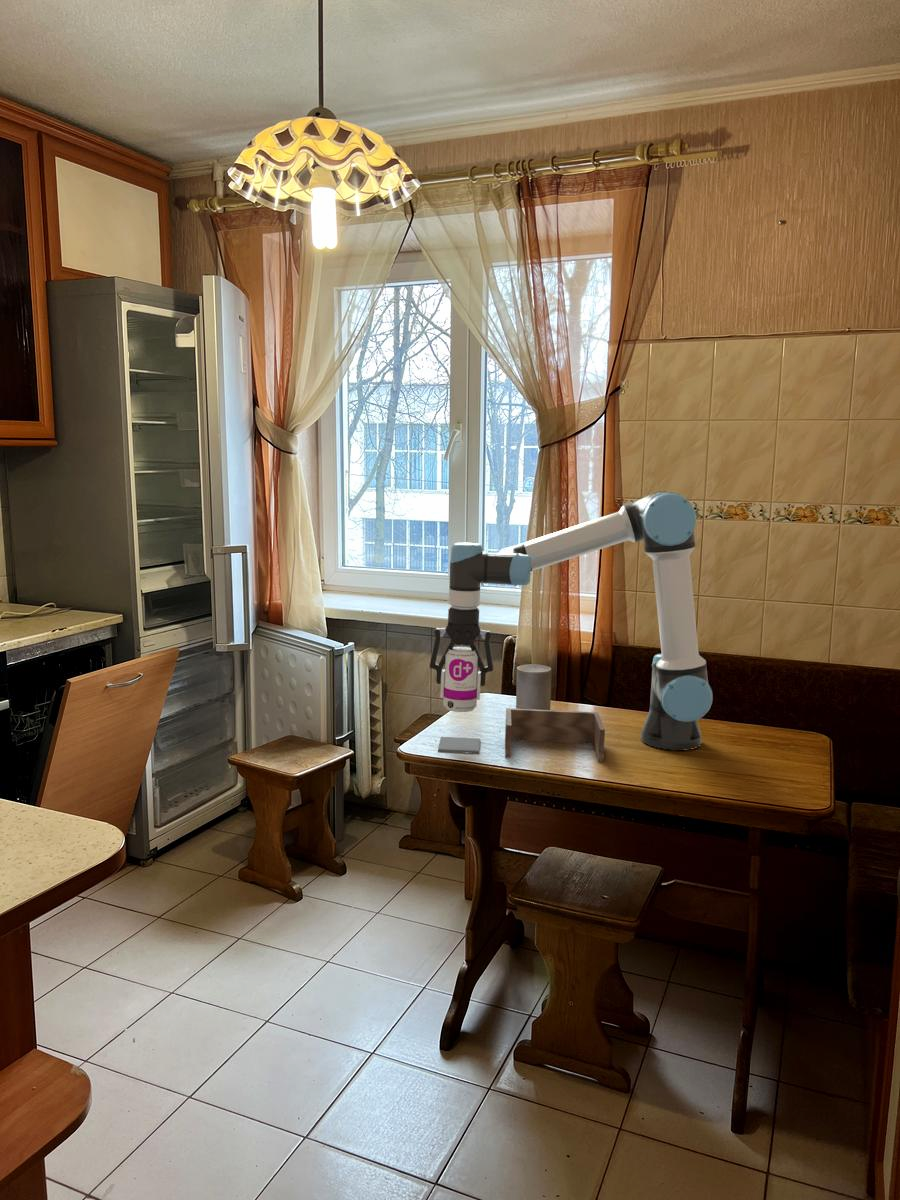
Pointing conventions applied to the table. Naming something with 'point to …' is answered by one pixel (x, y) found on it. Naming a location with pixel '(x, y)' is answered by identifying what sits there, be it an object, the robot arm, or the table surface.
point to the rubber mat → (459, 744)
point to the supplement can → (460, 679)
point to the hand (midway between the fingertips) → (460, 697)
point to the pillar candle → (533, 687)
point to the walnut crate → (555, 728)
